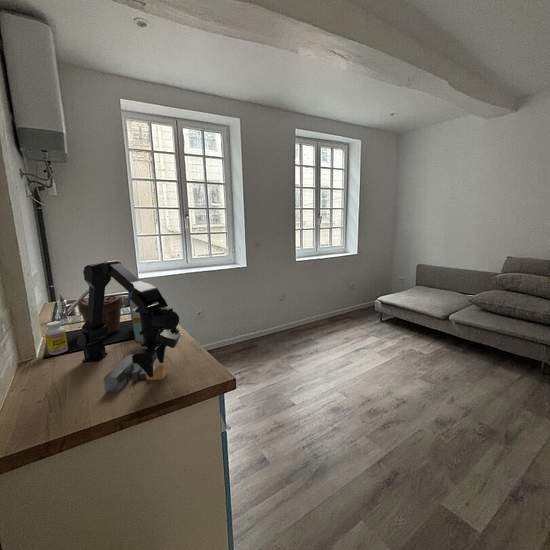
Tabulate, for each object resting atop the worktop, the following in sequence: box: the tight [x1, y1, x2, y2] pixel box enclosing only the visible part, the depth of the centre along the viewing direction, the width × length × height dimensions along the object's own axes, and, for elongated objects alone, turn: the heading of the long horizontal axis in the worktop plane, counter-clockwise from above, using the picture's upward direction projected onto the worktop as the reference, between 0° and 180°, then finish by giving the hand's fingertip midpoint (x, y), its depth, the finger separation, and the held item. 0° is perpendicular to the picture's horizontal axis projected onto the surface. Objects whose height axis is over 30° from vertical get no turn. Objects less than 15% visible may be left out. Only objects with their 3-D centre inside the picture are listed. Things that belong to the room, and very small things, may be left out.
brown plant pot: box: [78, 295, 125, 335], centre depth 142 cm, size 18×20×18 cm
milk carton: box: [127, 291, 138, 334], centre depth 141 cm, size 10×6×20 cm, turn 23°
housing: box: [103, 353, 139, 393], centre depth 96 cm, size 4×16×5 cm, turn 2°
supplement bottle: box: [44, 320, 69, 356], centre depth 119 cm, size 7×7×13 cm
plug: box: [131, 364, 168, 382], centre depth 96 cm, size 10×4×3 cm, turn 92°
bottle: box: [132, 308, 143, 345], centre depth 127 cm, size 7×7×15 cm
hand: (156, 369), depth 96 cm, fingers open, 9 cm apart
